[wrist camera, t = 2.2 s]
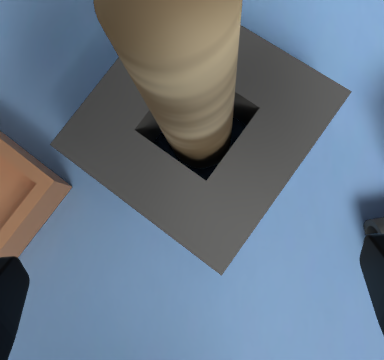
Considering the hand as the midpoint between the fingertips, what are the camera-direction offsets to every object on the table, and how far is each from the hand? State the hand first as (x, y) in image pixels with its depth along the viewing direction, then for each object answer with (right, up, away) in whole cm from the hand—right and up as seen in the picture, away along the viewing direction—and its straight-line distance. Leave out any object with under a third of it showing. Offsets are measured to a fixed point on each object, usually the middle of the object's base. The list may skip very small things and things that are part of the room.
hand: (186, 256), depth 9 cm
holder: (+1, +5, +14) cm, 15 cm away
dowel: (+1, +5, +14) cm, 15 cm away
